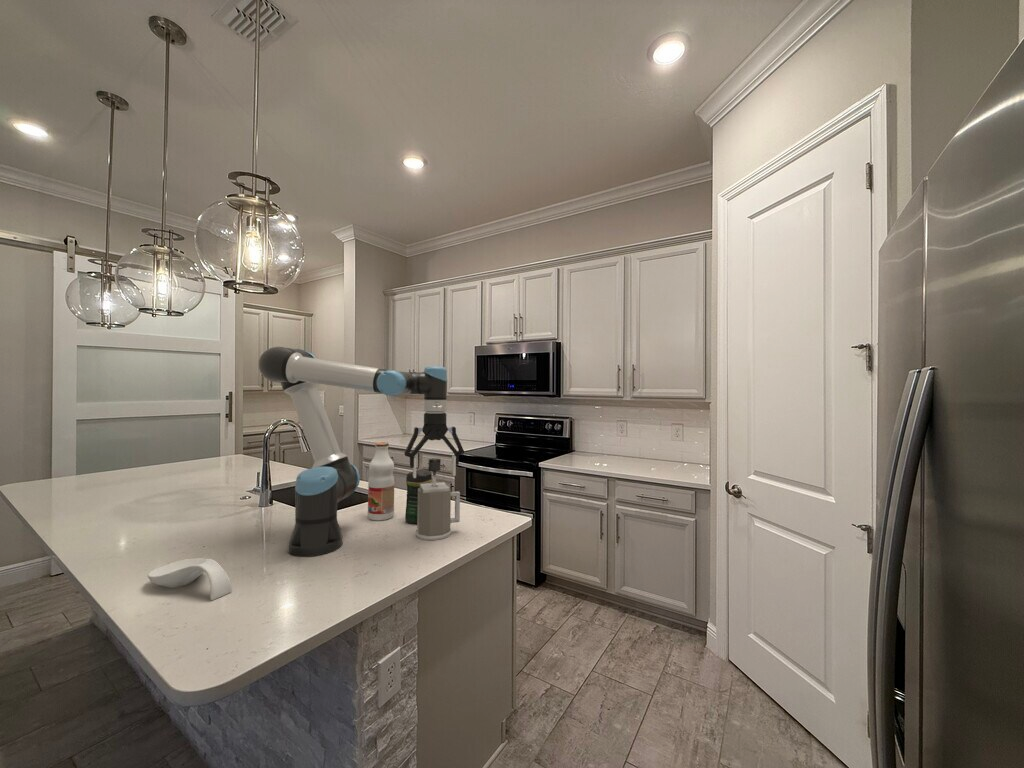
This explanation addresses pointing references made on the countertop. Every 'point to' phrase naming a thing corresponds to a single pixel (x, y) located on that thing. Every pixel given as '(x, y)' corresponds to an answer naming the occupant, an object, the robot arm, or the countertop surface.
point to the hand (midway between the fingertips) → (434, 476)
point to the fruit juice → (381, 484)
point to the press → (436, 511)
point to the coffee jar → (415, 492)
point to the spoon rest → (192, 575)
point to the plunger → (434, 468)
